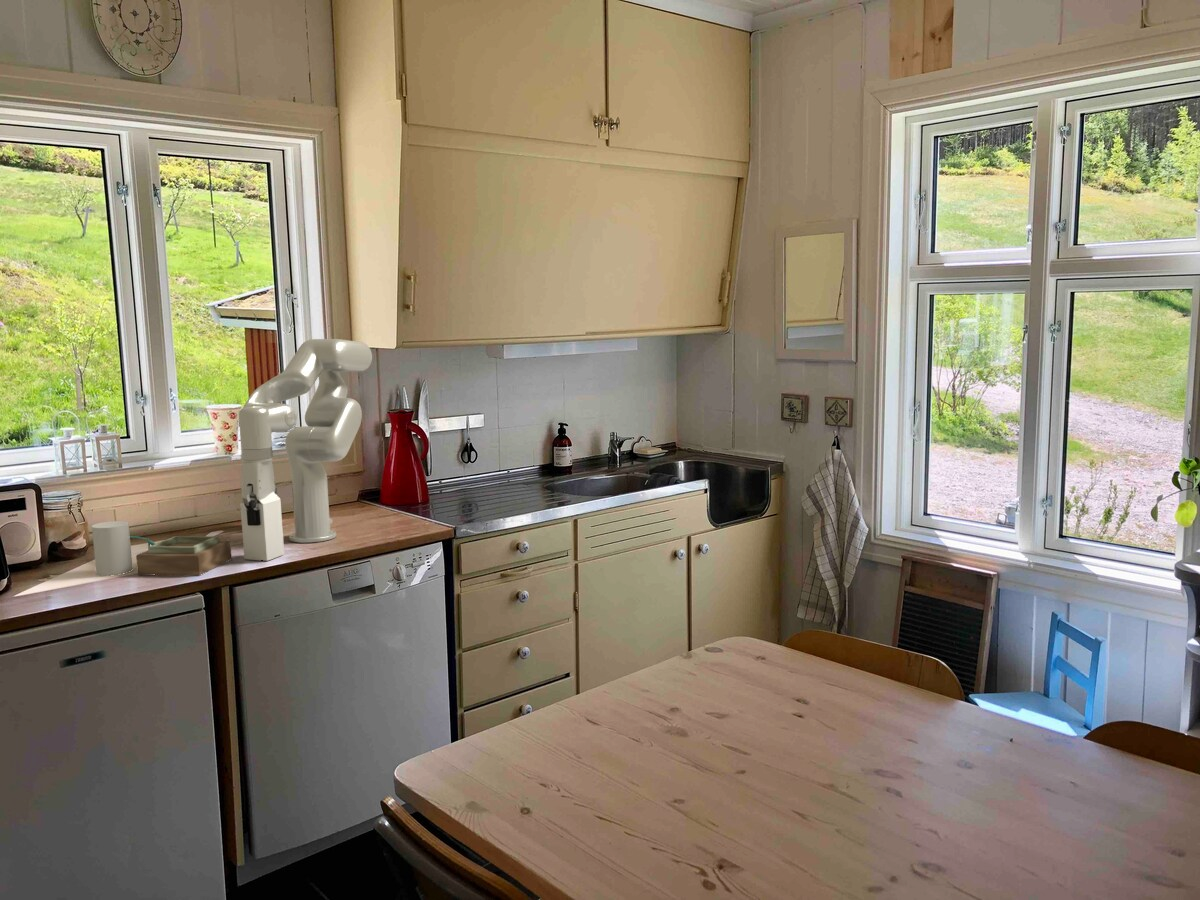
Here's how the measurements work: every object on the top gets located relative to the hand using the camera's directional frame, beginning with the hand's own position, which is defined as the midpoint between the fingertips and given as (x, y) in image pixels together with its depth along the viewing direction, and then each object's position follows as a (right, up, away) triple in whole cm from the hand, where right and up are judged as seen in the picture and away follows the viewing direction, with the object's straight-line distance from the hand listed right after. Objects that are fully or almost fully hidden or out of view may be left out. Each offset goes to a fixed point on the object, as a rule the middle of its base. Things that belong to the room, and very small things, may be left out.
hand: (261, 521), depth 253 cm
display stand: (-17, -11, -7) cm, 21 cm away
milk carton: (0, -10, +1) cm, 10 cm away
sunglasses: (-35, -11, +3) cm, 37 cm away
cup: (-33, -12, -10) cm, 37 cm away
